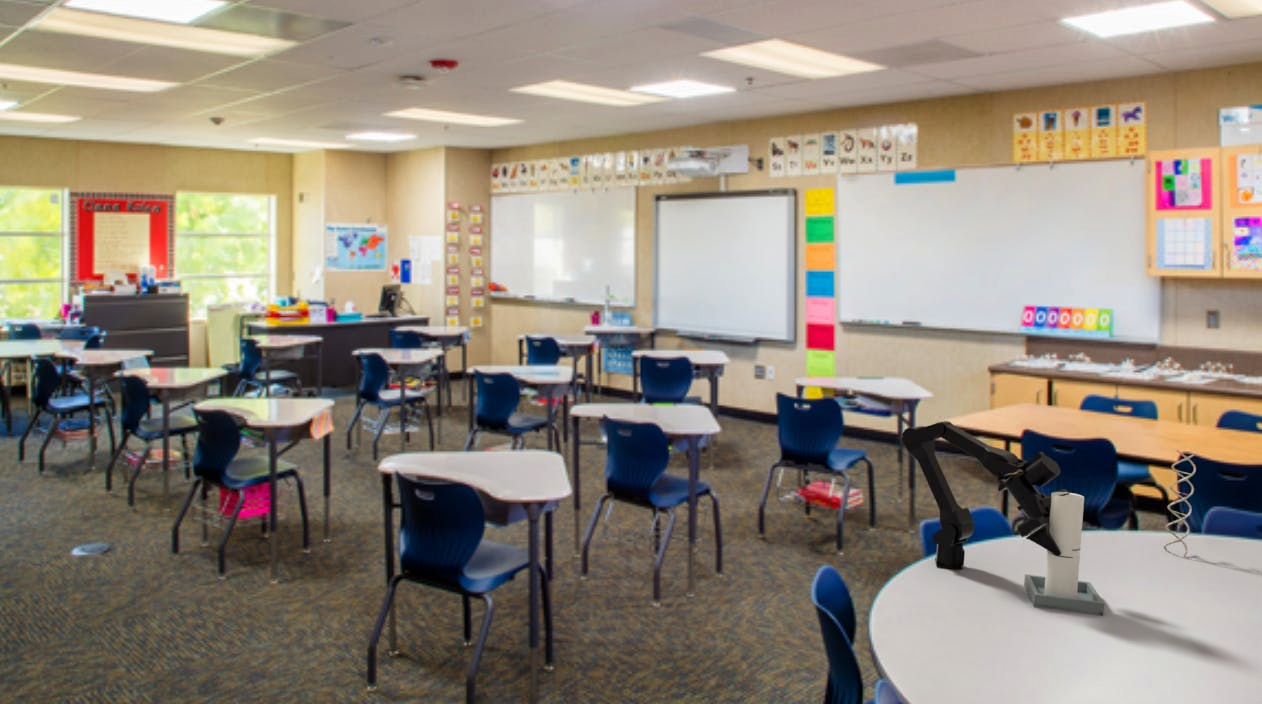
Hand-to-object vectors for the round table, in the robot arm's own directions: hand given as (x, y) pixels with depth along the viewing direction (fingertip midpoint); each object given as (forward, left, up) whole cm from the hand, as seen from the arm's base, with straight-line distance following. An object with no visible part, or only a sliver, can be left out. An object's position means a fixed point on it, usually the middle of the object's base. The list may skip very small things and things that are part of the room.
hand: (1068, 551), depth 214 cm
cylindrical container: (-1, 0, -12) cm, 12 cm away
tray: (0, 0, -12) cm, 12 cm away
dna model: (+40, +55, -12) cm, 69 cm away
